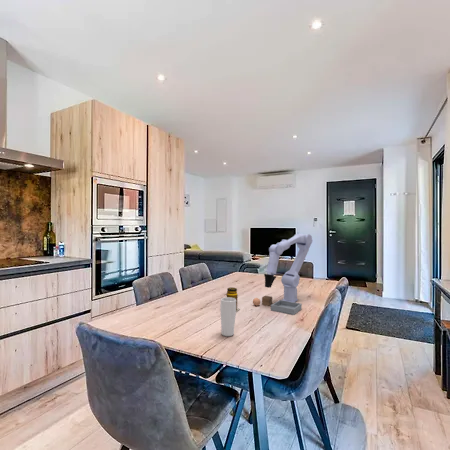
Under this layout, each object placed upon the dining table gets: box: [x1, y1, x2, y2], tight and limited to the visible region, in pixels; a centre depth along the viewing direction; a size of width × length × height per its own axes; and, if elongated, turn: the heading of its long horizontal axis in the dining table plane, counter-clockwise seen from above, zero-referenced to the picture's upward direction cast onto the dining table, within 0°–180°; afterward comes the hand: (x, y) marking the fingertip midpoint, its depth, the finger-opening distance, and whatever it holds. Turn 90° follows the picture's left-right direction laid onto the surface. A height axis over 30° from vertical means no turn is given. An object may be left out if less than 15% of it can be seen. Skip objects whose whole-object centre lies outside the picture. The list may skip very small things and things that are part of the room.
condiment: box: [225, 287, 240, 312], centre depth 155 cm, size 7×8×12 cm
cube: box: [261, 295, 273, 307], centre depth 168 cm, size 4×4×4 cm
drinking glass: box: [219, 297, 237, 337], centre depth 121 cm, size 7×7×15 cm
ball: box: [252, 297, 261, 307], centre depth 165 cm, size 4×4×4 cm
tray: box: [270, 299, 303, 316], centre depth 158 cm, size 13×13×3 cm
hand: (267, 287), depth 166 cm, fingers open, 7 cm apart
